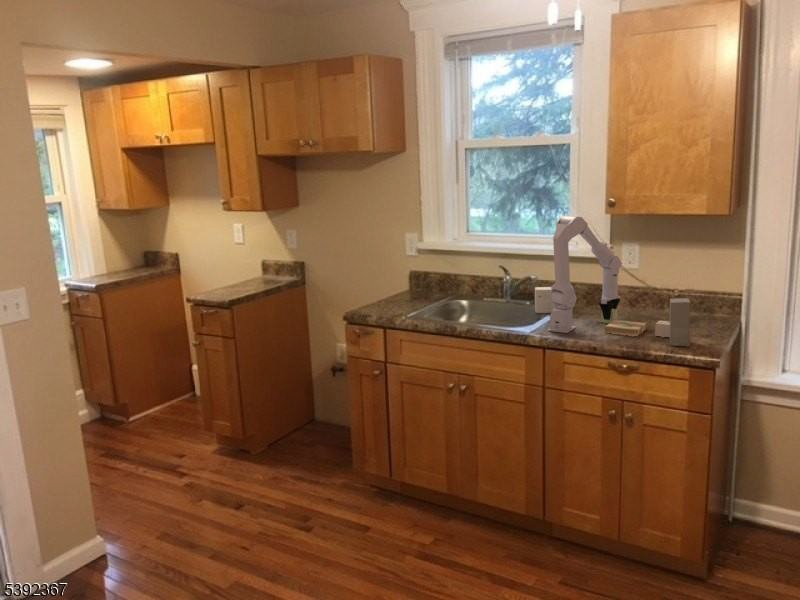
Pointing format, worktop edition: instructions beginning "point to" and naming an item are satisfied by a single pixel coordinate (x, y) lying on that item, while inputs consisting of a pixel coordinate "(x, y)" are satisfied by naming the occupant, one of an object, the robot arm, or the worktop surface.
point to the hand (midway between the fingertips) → (609, 317)
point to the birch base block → (625, 327)
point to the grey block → (662, 329)
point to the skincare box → (679, 322)
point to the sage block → (612, 317)
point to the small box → (543, 300)
